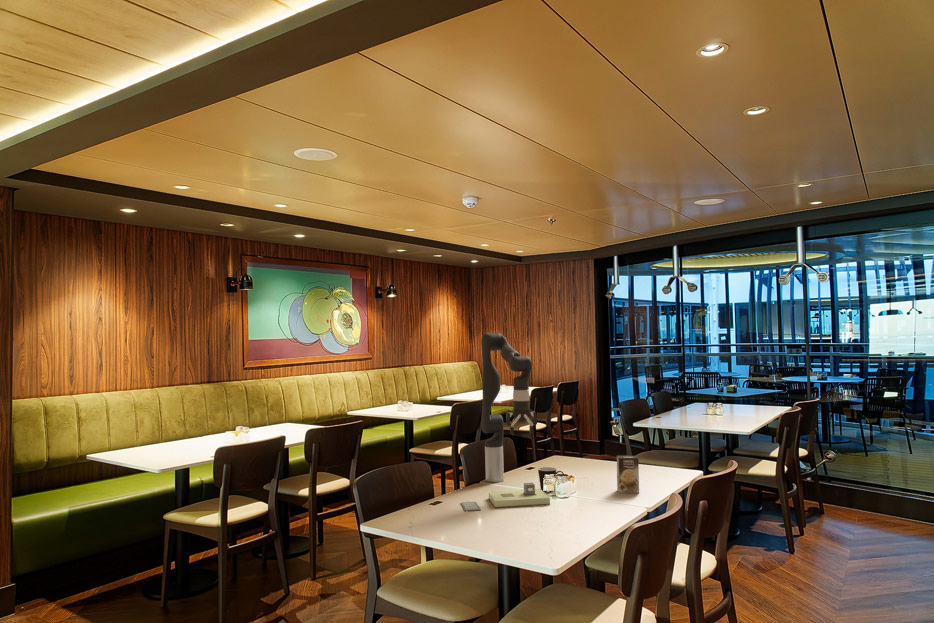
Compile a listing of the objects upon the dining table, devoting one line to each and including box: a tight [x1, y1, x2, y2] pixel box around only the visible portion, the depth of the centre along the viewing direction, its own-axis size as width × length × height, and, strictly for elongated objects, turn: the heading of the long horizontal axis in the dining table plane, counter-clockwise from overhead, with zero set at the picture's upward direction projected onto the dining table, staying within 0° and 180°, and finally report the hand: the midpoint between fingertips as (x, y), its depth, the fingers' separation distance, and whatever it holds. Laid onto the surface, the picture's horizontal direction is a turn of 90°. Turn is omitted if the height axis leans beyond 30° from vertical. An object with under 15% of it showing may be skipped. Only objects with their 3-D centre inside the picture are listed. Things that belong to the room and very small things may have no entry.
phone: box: [460, 501, 481, 512], centre depth 258 cm, size 13×7×1 cm, turn 9°
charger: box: [523, 482, 536, 496], centre depth 265 cm, size 4×4×7 cm
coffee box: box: [616, 455, 640, 494], centre depth 278 cm, size 9×6×16 cm
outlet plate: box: [488, 488, 551, 509], centre depth 265 cm, size 16×24×3 cm, turn 97°
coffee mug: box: [537, 466, 565, 491], centre depth 283 cm, size 12×9×10 cm
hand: (521, 434), depth 279 cm, fingers open, 8 cm apart
